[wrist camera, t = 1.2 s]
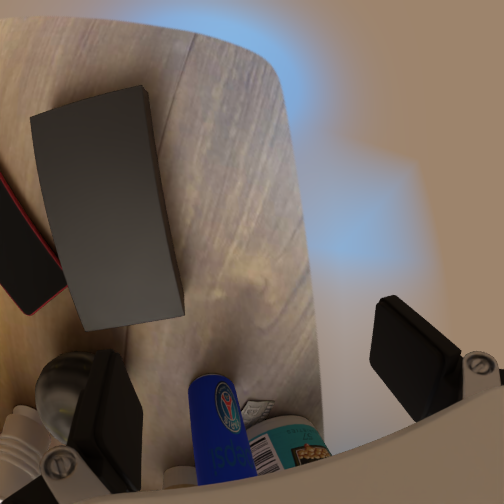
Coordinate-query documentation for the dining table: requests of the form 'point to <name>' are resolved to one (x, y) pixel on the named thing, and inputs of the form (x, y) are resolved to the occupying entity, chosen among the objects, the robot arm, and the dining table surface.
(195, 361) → the dining table surface
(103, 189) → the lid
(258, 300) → the dining table surface
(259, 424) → the food can
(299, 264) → the dining table surface
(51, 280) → the smartphone
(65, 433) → the decorative stone
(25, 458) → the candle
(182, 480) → the coffee cup
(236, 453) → the beverage can
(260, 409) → the snack bar
